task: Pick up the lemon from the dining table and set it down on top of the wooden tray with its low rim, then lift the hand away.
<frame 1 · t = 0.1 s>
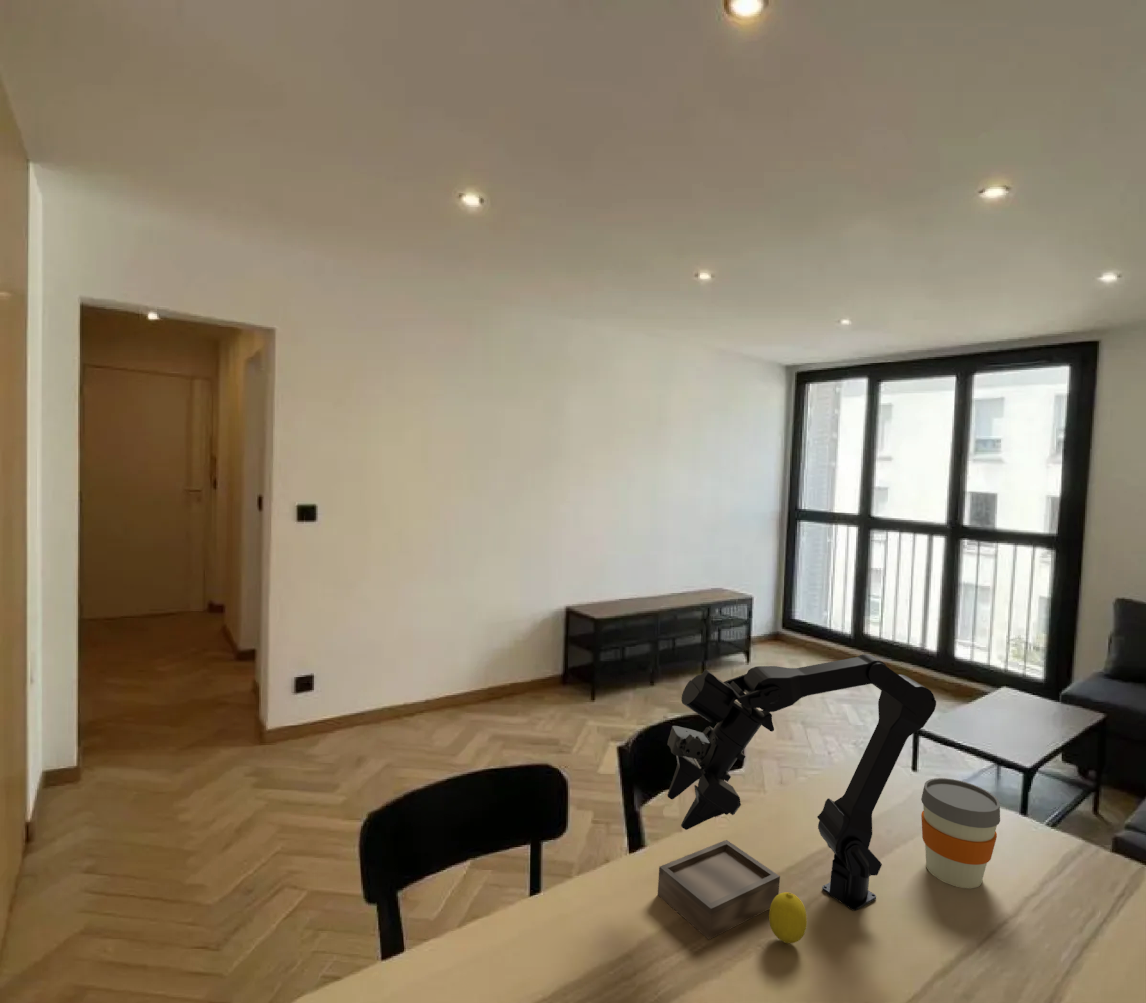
hand: (676, 812, 113), 15 cm above the table, tool tilted 35°, fingers open, 9 cm apart
lemon: (785, 943, 105), on the table
wooden tray: (717, 899, 114), on the table
reusable coffee cup: (953, 873, 125), on the table
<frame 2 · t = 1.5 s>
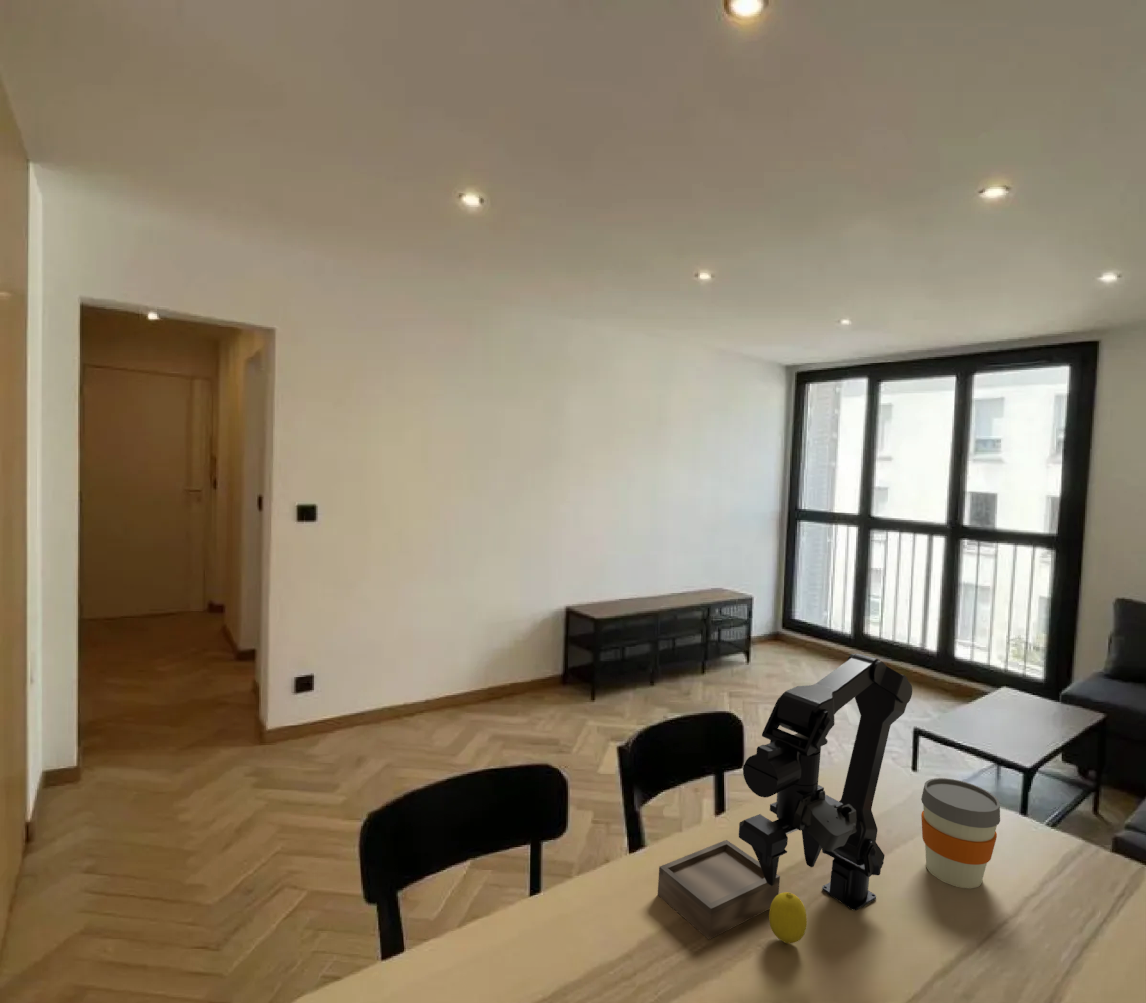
hand: (790, 875, 104), 11 cm above the table, tool pointing down, fingers open, 9 cm apart
nothing on the table moved.
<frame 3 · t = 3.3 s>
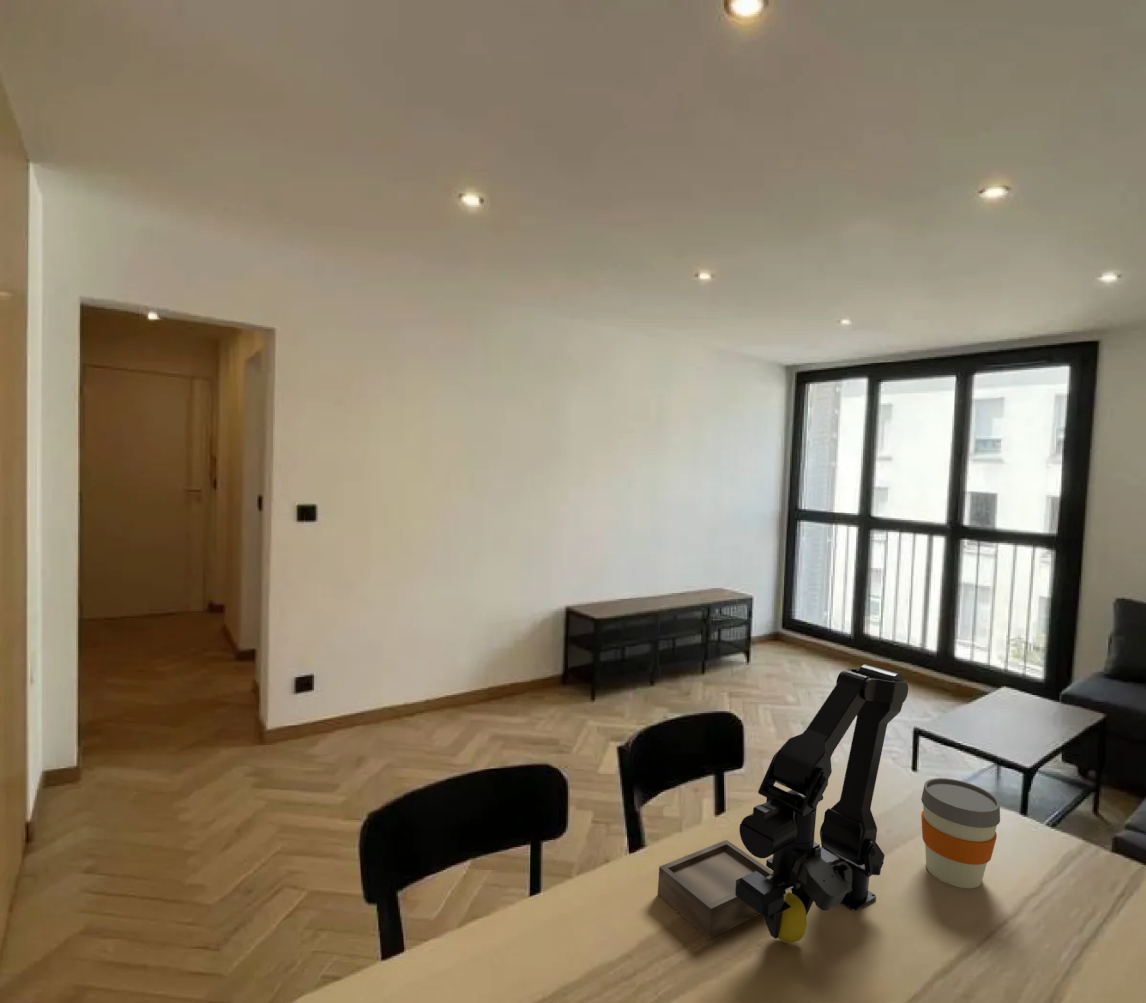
hand: (786, 930, 104), 2 cm above the table, tool pointing down, fingers closed on lemon, 5 cm apart
lemon: (785, 943, 105), on the table, touching gripper
everything else where it was.
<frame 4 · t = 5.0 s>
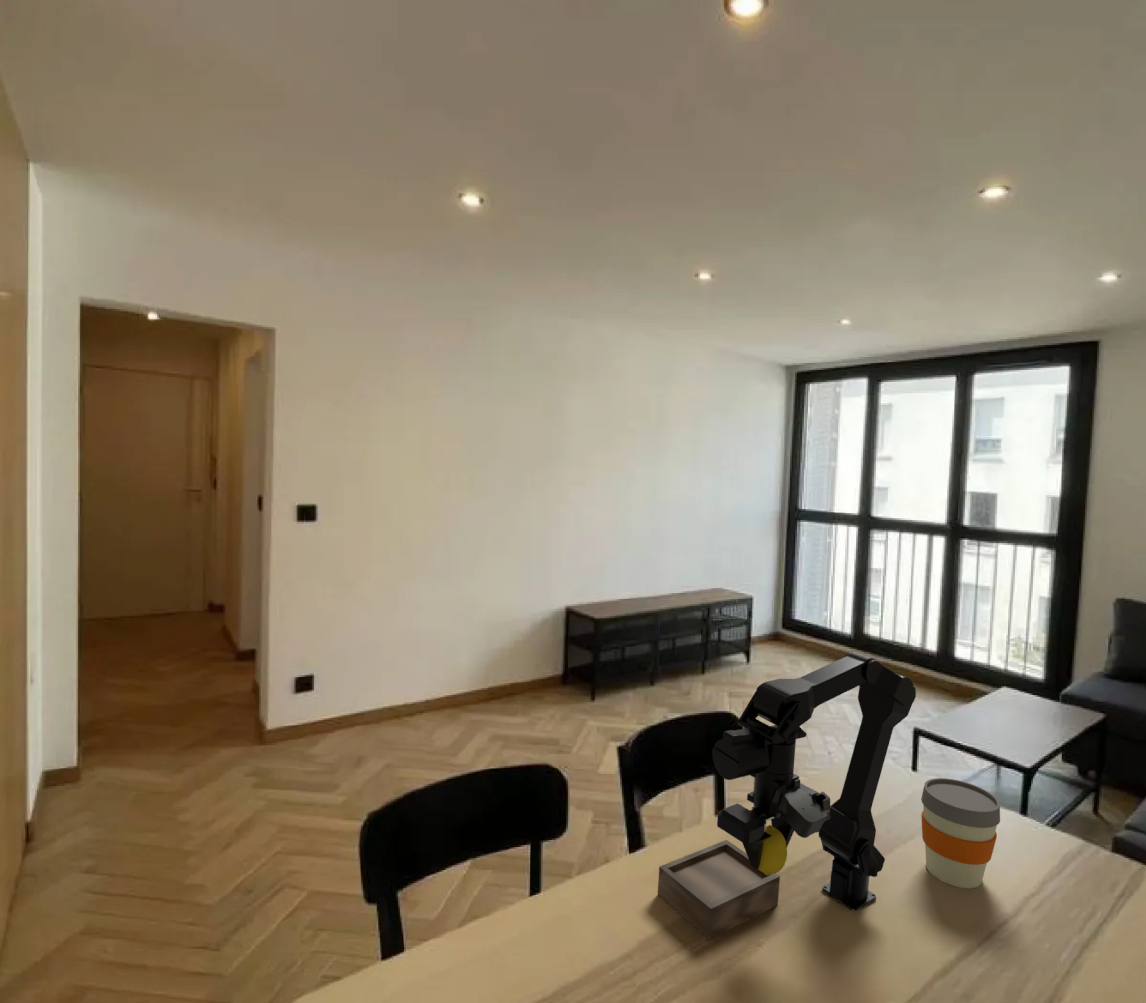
hand: (767, 862, 107), 11 cm above the table, tool pointing down, fingers closed on lemon, 5 cm apart
lemon: (766, 875, 107), point 9 cm above the table, touching gripper
everything else where it was.
when the fingers open (7 cm above the table, at t = 6.9 s): lemon drops 1 cm, resting on wooden tray.
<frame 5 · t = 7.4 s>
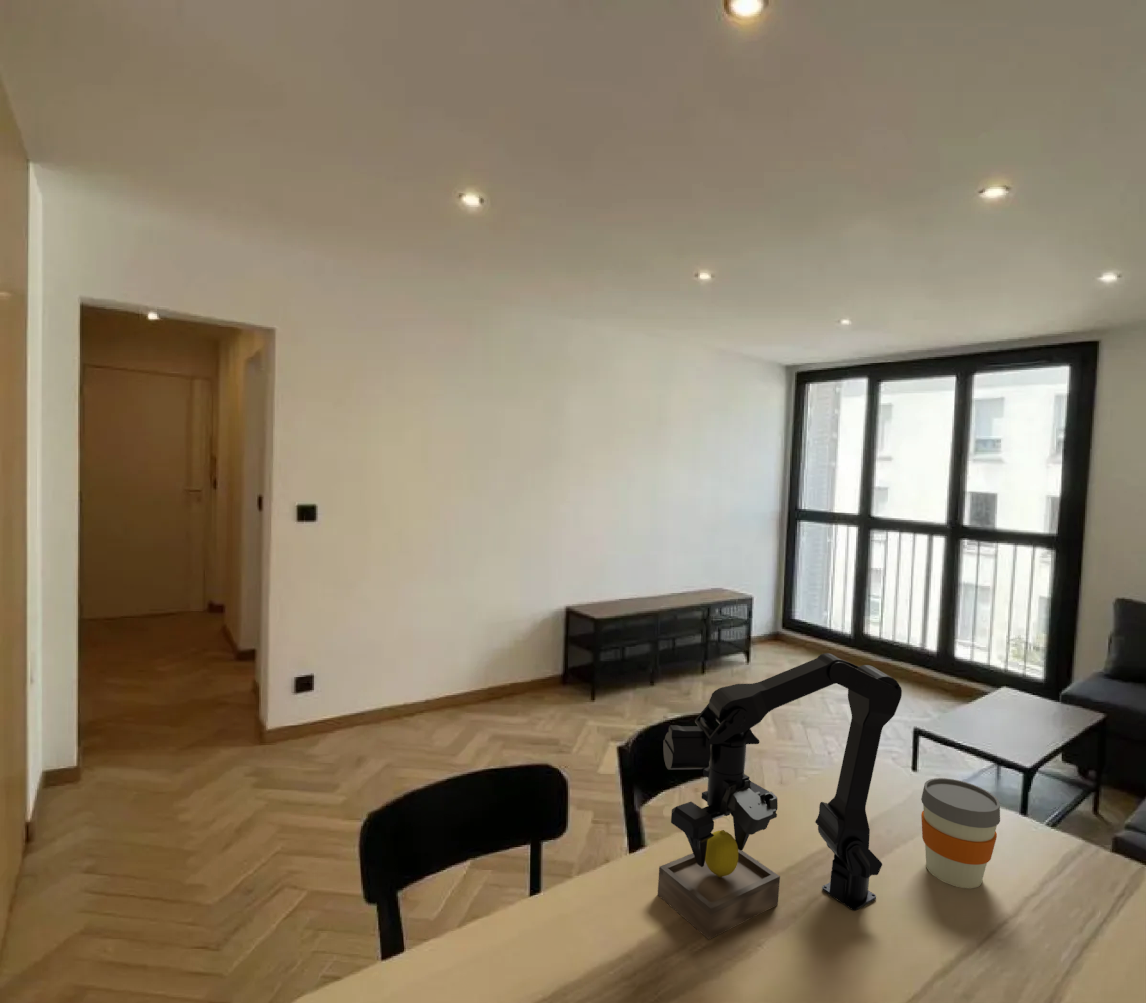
hand: (720, 857, 113), 7 cm above the table, tool pointing down, fingers open, 9 cm apart
lemon: (719, 878, 113), point 4 cm above the table, touching wooden tray
everything else where it was.
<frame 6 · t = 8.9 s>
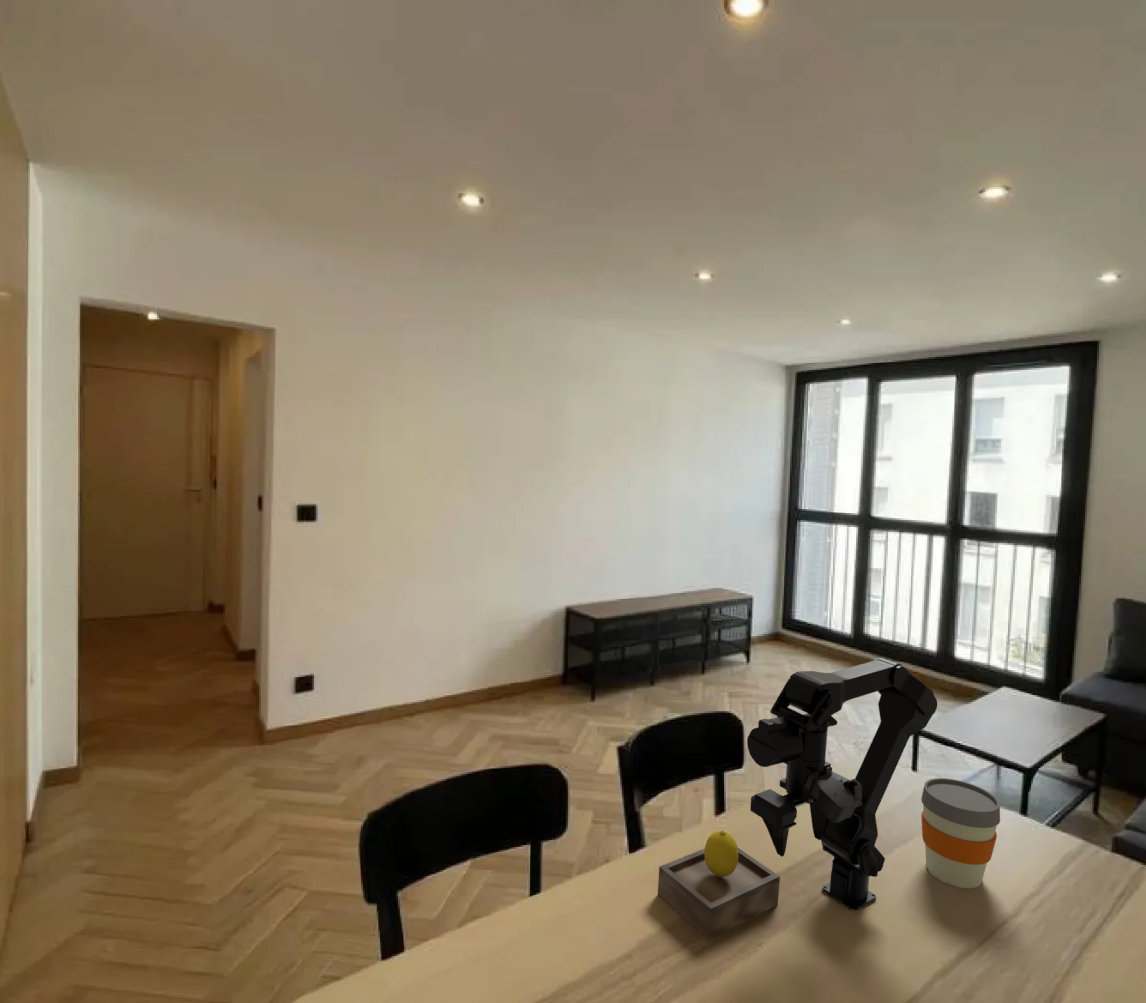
hand: (799, 846, 110), 12 cm above the table, tool pointing down, fingers open, 9 cm apart
nothing on the table moved.
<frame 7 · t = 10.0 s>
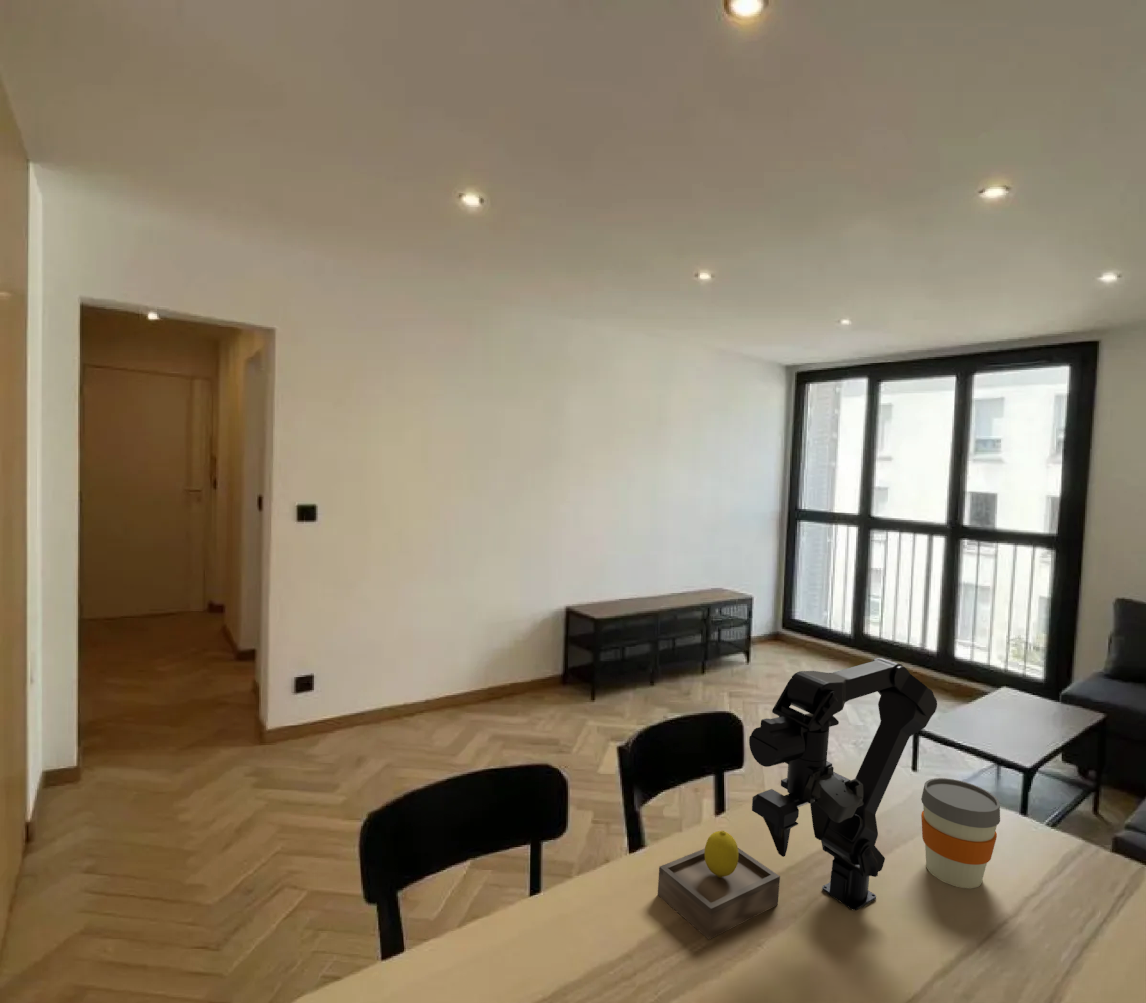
hand: (800, 846, 109), 12 cm above the table, tool pointing down, fingers open, 9 cm apart
nothing on the table moved.
at the end: lemon inside the target area on the wooden tray (0.1 cm from its centre), point 3.8 cm above the wooden tray's base; lemon touching wooden tray; the gripper is holding nothing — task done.
